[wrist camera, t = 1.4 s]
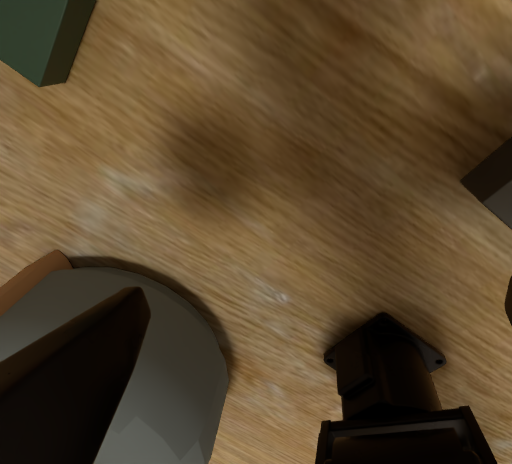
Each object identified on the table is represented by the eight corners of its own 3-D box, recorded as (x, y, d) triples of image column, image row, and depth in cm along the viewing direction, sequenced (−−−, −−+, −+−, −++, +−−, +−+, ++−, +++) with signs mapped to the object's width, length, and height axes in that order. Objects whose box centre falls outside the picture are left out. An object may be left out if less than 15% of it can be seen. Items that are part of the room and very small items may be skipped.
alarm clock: (4, 216, 25) (-214, 342, 15) (262, 305, 26) (227, 487, 15) (18, 373, 35) (-107, 516, 24) (205, 435, 35) (160, 601, 25)
